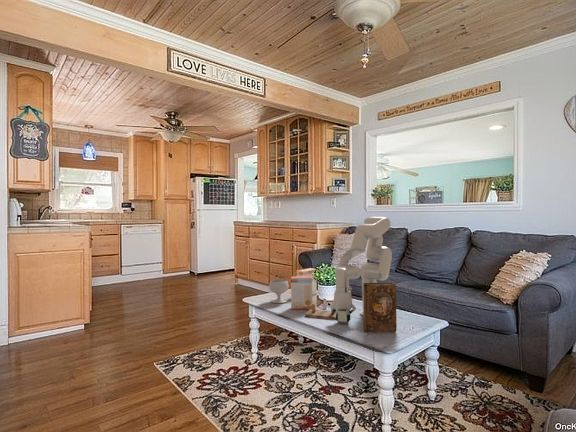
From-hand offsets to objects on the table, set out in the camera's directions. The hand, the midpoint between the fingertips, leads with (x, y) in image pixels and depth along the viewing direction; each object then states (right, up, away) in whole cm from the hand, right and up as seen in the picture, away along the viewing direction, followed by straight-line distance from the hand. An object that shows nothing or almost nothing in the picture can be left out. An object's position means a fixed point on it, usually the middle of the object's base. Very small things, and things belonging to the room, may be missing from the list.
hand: (343, 320), depth 200 cm
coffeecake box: (-17, -1, +68) cm, 71 cm away
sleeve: (0, -1, 0) cm, 1 cm away
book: (+17, -1, -14) cm, 22 cm away
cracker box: (-22, -1, +31) cm, 38 cm away
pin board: (-10, -1, +15) cm, 18 cm away
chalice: (-38, -1, +49) cm, 62 cm away
